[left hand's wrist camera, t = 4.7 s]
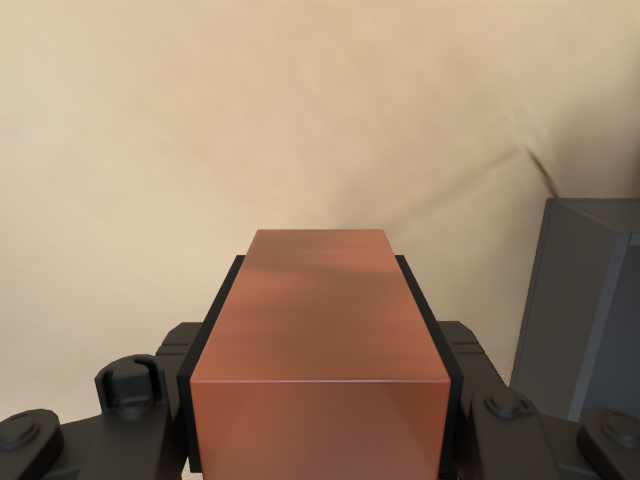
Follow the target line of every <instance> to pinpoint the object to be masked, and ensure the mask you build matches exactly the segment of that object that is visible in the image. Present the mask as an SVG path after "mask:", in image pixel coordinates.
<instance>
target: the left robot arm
mask: <svg viewBox="0 0 640 480" xmlns="http://www.w3.org/2000/svg"><path fill="white" fill-rule="evenodd" d="M245 256H246V255H237V256H236V258H235V260H234V262H233V264H232V266H231V268H230V270H229V272H228V274H227V276H226V278H225V280H224V282H223V284H222V286H221V288H220V290H219V292H218V294H217V296H216V298H215V300H214V302H213V304H212V306H211V308H210V310H209V312H208V314H207V316H206V318H205V319H204V321H203V322H182V323H181V324H179V325H178V326H177V327H175V328H174V329H173V330H171V331H170V332H169V333H168V334H167V336H166V338H165V339H164V341H163V342H162V346H160V347H159V349H158V350H157V352H156V356H152V355H148V354H140V355H132V356H128V357H123V358H121V359H119V360H116V361H114V362H112V363H110V364H109V365H107V366H106V367H104V368H103V369H102V370H100V372H99V373H98V374H97V376H96V377H95V378H94V380H95V384H96V389H97V393H98V397H99V401H100V405H101V409H102V413H101V415H98V416H94V417H91V418H88V419H83V420H79V421H75V422H70V423H66V424H62V425H60V422H59V418H58V416H57V415H56V414H55V413H54V412H53V411H51V410H45V409H36V410H28V411H25V412H22V413H19V414H16V415H13V416H11V417H9V418H7V419H5V420H3V421H2V422H0V480H182V476H181V474H182V471H183V468H184V466H185V463H186V460H187V457H188V459H189V465H190V472H191V473H202V467H201V460H200V452H199V445H198V438H197V431H196V423H195V416H194V409H193V401H192V394H191V387H190V379H191V376H192V374H193V372H194V370H195V368H196V365H197V363H198V361H199V359H200V356H201V354H202V352H203V350H204V348H205V345H206V343H207V341H208V339H209V336H210V334H211V332H212V330H213V328H214V325H215V323H216V321H217V319H218V316H219V314H220V312H221V310H222V308H223V305H224V303H225V301H226V299H227V296H228V294H229V292H230V290H231V288H232V285H233V283H234V281H235V279H236V276H237V274H238V272H239V270H240V267H241V265H242V263H243V261H244V259H245ZM394 256H395V258H396V260H397V262H398V264H399V267H400V269H401V271H402V273H403V276H404V278H405V280H406V282H407V284H408V287H409V289H410V291H411V293H412V295H413V298H414V300H415V302H416V304H417V306H418V309H419V311H420V313H421V315H422V317H423V320H424V322H425V324H426V326H427V329H428V331H429V333H430V335H431V337H432V340H433V342H434V344H435V346H436V348H437V351H438V353H439V355H440V357H441V359H442V362H443V364H444V366H445V368H446V371H447V373H448V375H449V377H450V380H451V385H450V392H449V399H448V406H447V414H446V421H445V428H444V435H443V442H442V450H441V457H440V464H439V471H438V473H450V467H451V461H452V454H453V457H454V460H455V463H456V465H457V468H458V471H459V476H458V480H640V420H639V419H637V418H635V417H633V416H631V415H629V414H627V413H624V412H621V411H618V410H615V409H610V408H602V407H598V408H592V409H589V410H587V411H586V412H585V413H584V414H583V416H582V420H581V423H577V422H573V421H568V420H564V419H560V418H555V417H551V416H548V415H545V414H541V413H539V412H538V410H537V408H536V407H535V405H534V404H533V402H532V401H531V400H529V399H528V398H527V397H526V396H525V395H523V394H522V393H520V392H518V391H516V390H514V389H512V388H509V387H507V386H506V385H505V383H504V382H503V380H502V378H501V377H500V375H499V374H498V372H497V371H496V369H495V367H494V366H493V364H492V363H491V361H490V359H489V358H488V356H487V355H486V354H485V351H484V350H483V348H482V347H481V345H479V342H478V340H477V339H476V337H475V336H474V334H473V332H472V331H471V330H470V329H468V328H467V327H466V326H464V325H463V324H462V323H460V322H459V321H436V319H435V317H434V315H433V313H432V311H431V309H430V307H429V305H428V303H427V301H426V299H425V297H424V295H423V293H422V291H421V289H420V287H419V285H418V283H417V281H416V279H415V277H414V275H413V273H412V271H411V269H410V267H409V265H408V263H407V261H406V259H405V257H404V255H394Z"/></svg>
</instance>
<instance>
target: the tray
mask: <svg viewBox="0 0 640 480" xmlns="http://www.w3.org/2000/svg"><path fill="white" fill-rule="evenodd" d="M510 388H512V389H514V390H516V391H518V392H520V393H522V394H523V395H525V396H526V397H527V398H528V399H529V400H531V401H532V402H533V404H534V405H535V407H536V408H537V410H538V412H539V413H541V414H545V415H548V416H551V417H555V418H560V419H564V420H568V421H573V422H577V423H581V420H582V416H583V414H584V413H585V412H586V411H587V410H589V409H592V408H598V407H602V408H610V409H615V410H618V411H621V412H624V413H627V414H629V415H631V416H633V417H635V418H637V419H639V420H640V199H588V198H548V199H547V202H546V207H545V212H544V217H543V222H542V227H541V232H540V237H539V242H538V247H537V253H536V258H535V263H534V268H533V273H532V278H531V283H530V288H529V293H528V298H527V303H526V308H525V313H524V318H523V323H522V328H521V333H520V338H519V343H518V348H517V353H516V358H515V363H514V368H513V373H512V378H511V384H510Z"/></svg>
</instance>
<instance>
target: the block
mask: <svg viewBox="0 0 640 480" xmlns="http://www.w3.org/2000/svg"><path fill="white" fill-rule="evenodd" d="M450 385H451V380H450V377H449V375H448V373H447V371H446V368H445V366H444V364H443V362H442V359H441V357H440V355H439V353H438V351H437V348H436V346H435V344H434V342H433V340H432V337H431V335H430V333H429V331H428V329H427V326H426V324H425V322H424V320H423V317H422V315H421V313H420V311H419V309H418V306H417V304H416V302H415V300H414V298H413V295H412V293H411V291H410V289H409V287H408V284H407V282H406V280H405V278H404V276H403V273H402V271H401V269H400V267H399V264H398V262H397V260H396V258H395V256H394V253H393V251H392V249H391V247H390V245H389V242H388V240H387V238H386V236H385V234H384V231H383V230H257V232H256V234H255V236H254V239H253V241H252V243H251V245H250V247H249V250H248V252H247V254H246V256H245V259H244V261H243V263H242V265H241V267H240V270H239V272H238V274H237V276H236V279H235V281H234V283H233V285H232V288H231V290H230V292H229V294H228V296H227V299H226V301H225V303H224V305H223V308H222V310H221V312H220V314H219V316H218V319H217V321H216V323H215V325H214V328H213V330H212V332H211V334H210V336H209V339H208V341H207V343H206V345H205V348H204V350H203V352H202V354H201V356H200V359H199V361H198V363H197V365H196V368H195V370H194V372H193V374H192V376H191V379H190V387H191V394H192V401H193V409H194V416H195V423H196V431H197V438H198V445H199V452H200V460H201V467H202V474H203V480H437V478H438V471H439V464H440V457H441V450H442V442H443V435H444V428H445V421H446V414H447V406H448V399H449V392H450Z"/></svg>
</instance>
